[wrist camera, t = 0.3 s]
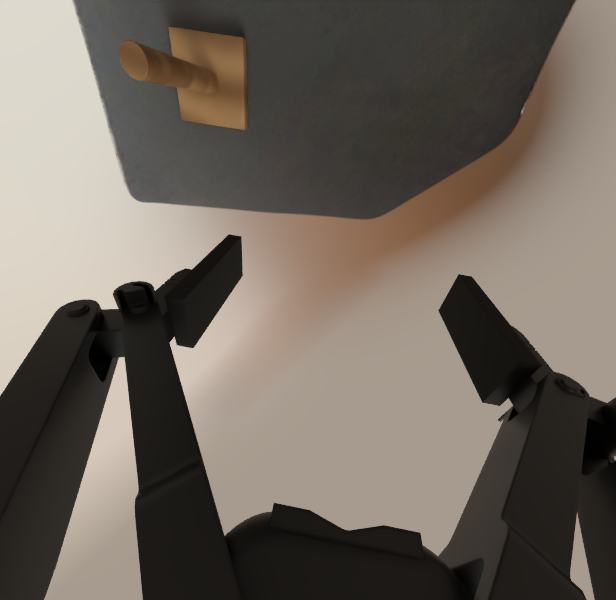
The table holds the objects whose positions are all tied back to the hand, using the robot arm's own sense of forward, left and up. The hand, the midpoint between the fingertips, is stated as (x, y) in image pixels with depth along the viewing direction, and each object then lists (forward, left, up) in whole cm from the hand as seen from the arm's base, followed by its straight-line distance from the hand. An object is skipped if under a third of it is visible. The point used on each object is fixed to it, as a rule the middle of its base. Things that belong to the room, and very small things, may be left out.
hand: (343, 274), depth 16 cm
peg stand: (-9, -19, -28) cm, 35 cm away
